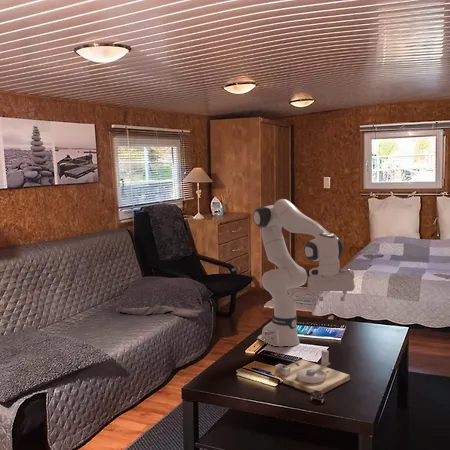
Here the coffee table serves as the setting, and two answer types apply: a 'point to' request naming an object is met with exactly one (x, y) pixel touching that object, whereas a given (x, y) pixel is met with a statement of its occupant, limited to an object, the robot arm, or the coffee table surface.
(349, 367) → the coffee table surface
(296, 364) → the stand board
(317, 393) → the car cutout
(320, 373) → the dial
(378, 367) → the coffee table surface
